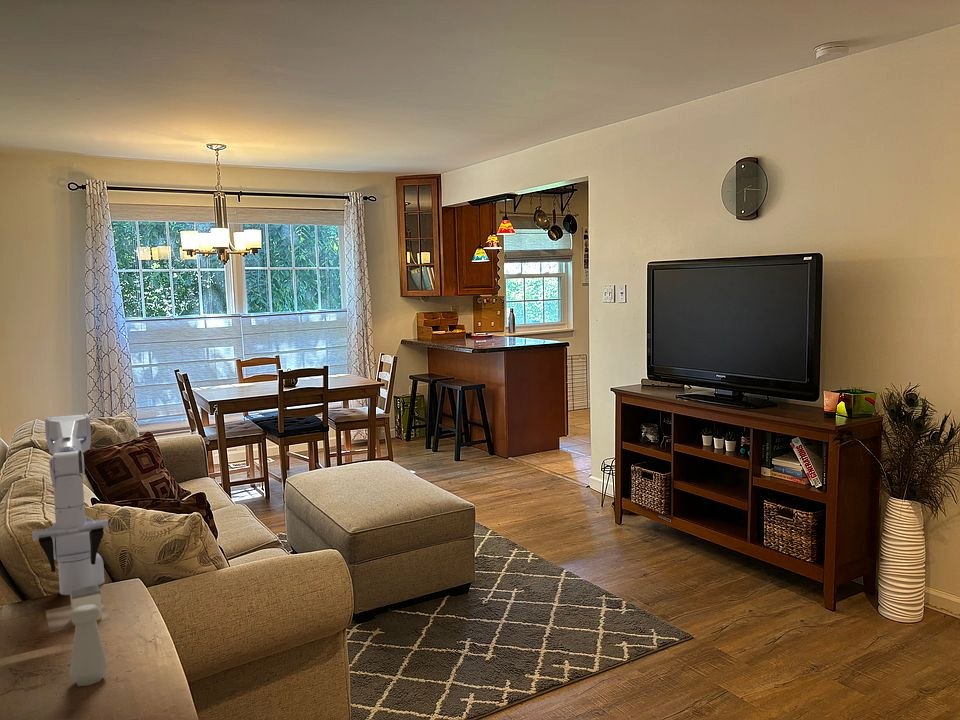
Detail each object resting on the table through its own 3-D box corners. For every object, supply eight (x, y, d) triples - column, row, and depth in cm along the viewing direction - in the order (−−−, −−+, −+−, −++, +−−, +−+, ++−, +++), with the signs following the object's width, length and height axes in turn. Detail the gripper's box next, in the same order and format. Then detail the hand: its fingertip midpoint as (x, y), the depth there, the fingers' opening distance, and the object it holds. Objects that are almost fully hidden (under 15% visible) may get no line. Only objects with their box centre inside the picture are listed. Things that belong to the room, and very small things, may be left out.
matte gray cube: (71, 617, 154) (70, 590, 154) (99, 611, 157) (97, 584, 157) (74, 625, 149) (72, 596, 149) (102, 618, 152) (100, 590, 152)
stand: (45, 616, 159) (43, 593, 159) (101, 603, 165) (99, 582, 165) (50, 638, 146) (48, 614, 146) (110, 624, 152) (109, 601, 152)
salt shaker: (96, 688, 123) (91, 612, 122) (63, 689, 123) (58, 613, 123) (114, 672, 129) (110, 600, 128) (82, 673, 129) (78, 601, 128)
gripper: (31, 514, 152) (35, 578, 152) (108, 503, 160) (112, 564, 160) (30, 509, 158) (34, 571, 158) (104, 498, 166) (108, 557, 166)
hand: (73, 567), depth 159 cm, fingers open, 7 cm apart
